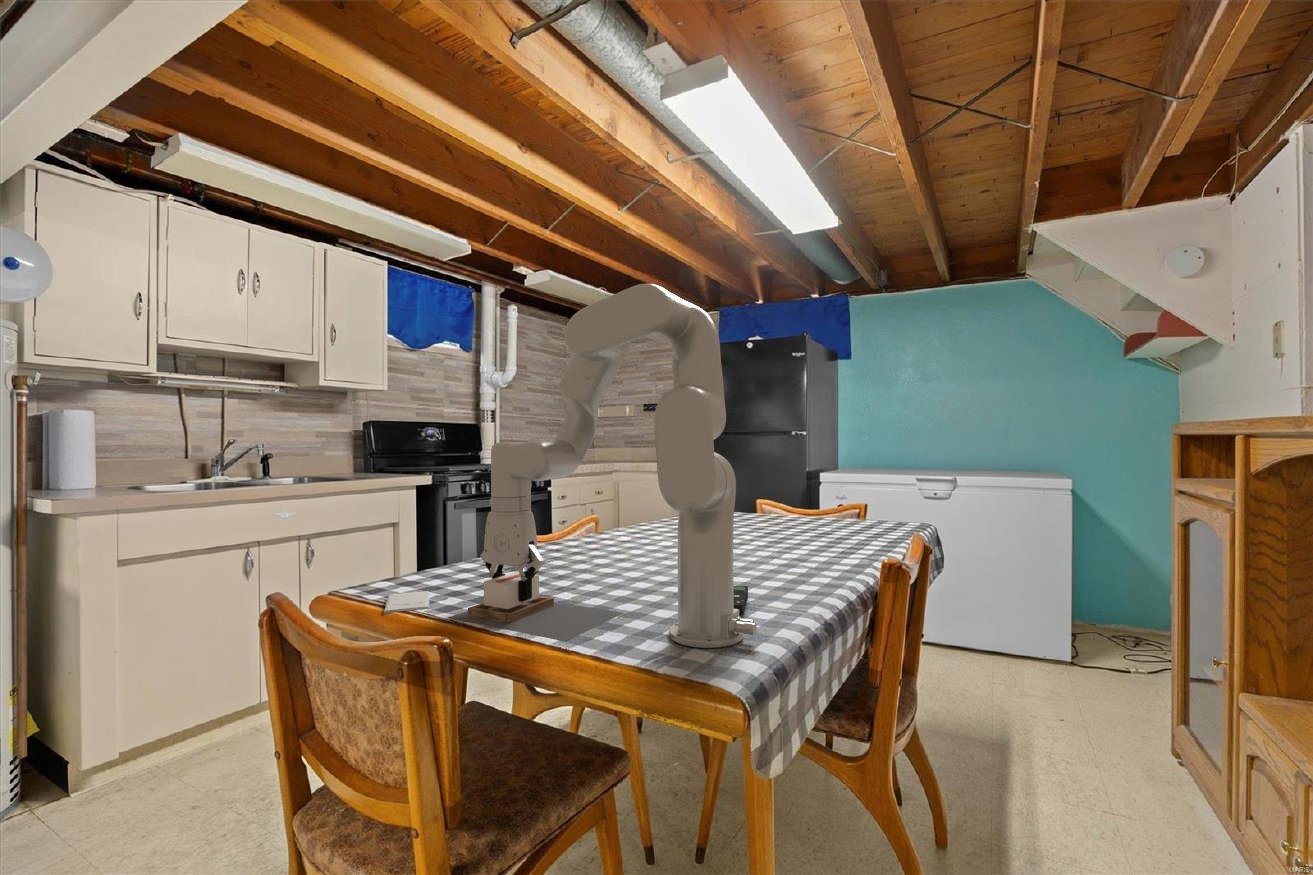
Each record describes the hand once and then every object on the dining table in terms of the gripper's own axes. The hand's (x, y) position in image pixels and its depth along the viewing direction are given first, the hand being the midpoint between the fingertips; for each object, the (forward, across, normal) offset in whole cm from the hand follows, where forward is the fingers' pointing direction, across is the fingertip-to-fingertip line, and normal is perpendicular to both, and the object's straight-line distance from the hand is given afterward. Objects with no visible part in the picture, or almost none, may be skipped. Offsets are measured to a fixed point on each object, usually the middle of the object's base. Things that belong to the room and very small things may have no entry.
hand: (512, 596), depth 118 cm
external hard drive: (+4, -24, -5) cm, 24 cm away
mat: (+3, +6, 0) cm, 7 cm away
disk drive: (+4, +34, +25) cm, 42 cm away
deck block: (+1, 0, 0) cm, 1 cm away
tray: (+3, 0, 0) cm, 3 cm away
